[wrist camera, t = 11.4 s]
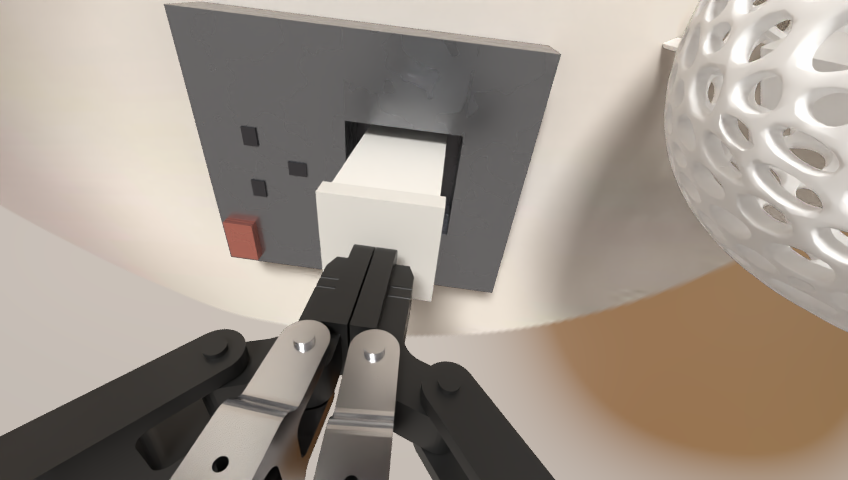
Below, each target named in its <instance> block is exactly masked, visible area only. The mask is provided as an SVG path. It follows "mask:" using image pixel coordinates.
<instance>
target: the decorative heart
mask: <svg viewBox="0 0 848 480" xmlns="http://www.w3.org/2000/svg"><path fill="white" fill-rule="evenodd" d="M754 2H755V0H700V1H699V3H698V5H697V7H696V9H695V11H694V13H693V15H692V17H691V19H690V22H689V24H688V26H687V28H686V30H685V32H684V34H683V36H682V38H677V37H676V38H674V39H672V40H669V41H667V42H665V43H663V48H666V49H669V50H672V51H675V52H676V55H675V59H674V62H673V66H672V70H671V73H670V76H669V80H668V85H667V93H666V102H665V110H664V128H665V137H666V147H667V152H668V157H669V160H670V164H671V167H672V171H673V174H674V176H675V179H676V181H677V184H678V186H679V189H680V191H681V193H682V195H683V196H684V198H685V200H686V202H687V204H688V206H689V207H690V209H691V211H692V212H693V213H694V215H695V216H696V218H697V219H698V220H699V222H700V223H701V224H702V225H703V227H704V228H705V229H706V231H707V232H708V233H709V234H710V236H711V237H712V238H713V239H714V240H715V241H716V242H717V243H718V245H719V246H720V247H721V248H722V249H723V250H724V251H725V252H726V253H727V254H728V255H730V256H731V257H732V258H733V259H734V260H735V261H736V262H737V263H738V264H740V265H741V266H742V267H743V268H744V269H746V270H747V271H748V272H749V273H751V274H752V275H753V276H755V277H756V278H757V279H758V280H760V281H761V282H762V283H764V284H765V285H766V286H768V287H769V288H771V289H772V290H774V291H775V292H777V293H778V294H780V295H781V296H783V297H785V298H786V299H788V300H790V301H791V302H793V303H795V304H796V305H798V306H800V307H802V308H804V309H805V310H807V311H809V312H811V313H812V314H814V315H816V316H818V317H819V318H821V319H823V320H825V321H826V322H828V323H830V324H832V325H834V326H836V327H838V328H840V329H842V330H844V331H846V332H848V237H847V236H845V235H844V234H843V233H842V232H840V230H841V231H844V232H848V0H767V1H765V2H764V3H762V4H760V5H757V6H754V5H753V3H754ZM786 20H790V23H789V25H788V27H787V28H786V30H784V31H781V30H780V29H778V28H777V26H776V25H777V24H779V23H781V22H783V21H786ZM729 31H730V32H729ZM728 32H729V34H728V36H727V37H726V39H725V40H724V41H722V40H723V38H724V37H725V35H726V34H727V33H728ZM760 43H763V44H765V45H764V46H762V47H760V59H758V60H756V61H752V62H749V58H750V55H751V53H752V52H753V50H754V49H755V48H756V46H758V45H759V44H760ZM711 82H712V83H713V85H714V96H713V99H712V101H711V103H710V101H709V99H708V90H709V86H710V84H711ZM759 82H761V106H760V105H758V104H757V103H756V101H755V96H754V95H755V90H756V87H757V85H758V84H759ZM738 119H739V120H740V121H741V122H742V123H743V124H744V125H745V126H746V127H747V128H748V129H749V138H748V140H747V139H746V138H745V137H744V135H743V134H742V133H741V131H740V129H739V127H738ZM788 128H790V135H787V136H783V132H784V131H785V130H786V129H788ZM791 148H798V149H809V150H813V151H815V152H817V153H819V154H821V155H822V156H823V157H824V159H825V167H824V168H823V169H822V170H821V169H818V168H815V167H813V166H811V165H809V164H807V163H806V162H804V161H802V160H801V159H800V158H798V157H797V156H796V155H795V154H794V153H793V152H792V151H791V150H790V149H791ZM730 161H731V162H733V163H734V164H735V165H737V167H738V169H739V170H738V169H737V168H735V167H734V166H733V165H732V163H731V162H730ZM770 169H771V170H772V171H774V172H775V173H776V175H777V176H778V178H779V180H780V184H779V182H778V181H777V179H776V178H775V177H774V175H773V174H772V172H771V170H770ZM713 175H714V176H715V177H716V179H717V180H718V181H719V182H720V183H721V184H722V186H723V187H722V186H721V185H720V184H719V183H718V182H717V180H716V179H715V178H714V176H713ZM797 189H810V190H812V191H813V192H814V193H816V195H817V196H818V197H819V199H820V200H821V203H822V208H820V207H816V206H813V205H810V204H808V203H805V202H804V201H802V200H800V199H799V198H797V197H796V190H797ZM765 205H772V206H773V207H774V208H776V209H777V210H779V211H780V212H781V213H782V214H783V215H784V217H785V219H786V223H784V222H782V221H779V220H776V219H774V218H773V217H772V216H771V215H770V214H768V213H767V212H766V211H765V210H764V209H763V206H765ZM790 246H791V247H794V248H797V249H800V250H803V251H804V252H805V253H807V254H808V255H809V257H810V259H811V260H808V259H807V258H805V257H803V256H801V255H800V254H798V253H797V252H796V251H794V250H793V249H792V248H790Z"/></svg>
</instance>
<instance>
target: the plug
mask: <svg viewBox="0 0 848 480" xmlns="http://www.w3.org/2000/svg"><path fill="white" fill-rule="evenodd" d="M446 142H447V134H443V133H435V132H428V131H420V130H412V129H405V128H397V127H389V126H382V125H374V124H371V125H370V126H369V128H368V129H367V131H366V132H365V134H364V135H363V137H362V138H361V140H360V141H359V143H358V144H357V146H356V147H355V149H354V150H353V151H352V153H351V154H350V156H349V157H348V159H347V160H346V162H345V163H344V165H343V166H342V168H341V169H340V171H339V172H338V174H337V175H336V177H335V178H334V180H333V181H332V182H326V181H323V182H322V183H321V184H320V186H319V187H318V189H317V190H316V191H315V193H316V204H317V215H318V226H319V237H320V248H321V259H322V270H323V271H324V269H325V267H326V265H327V264H328V263H330V262H331V261H332V260H333V259H335V258H336V257H337V256H338V257H345V258H348V257H349V254H350V252H351V250H352V247H353V245H354V244H358V245H365V246H372V247H380V248H388V249H395V250H397V251H398V254H397V265H404V266H410V268H411V271H412V273H413V276H414V282H413V291H412V299H415V300H423V301H430V302H431V300H432V293H433V286H434V279H435V273H436V266H437V259H438V252H439V246H440V239H441V232H442V225H443V219H444V212H445V203H446V197H444V196H440V194H441V185H442V177H443V168H444V159H445V150H446Z"/></svg>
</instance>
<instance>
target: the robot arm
mask: <svg viewBox="0 0 848 480" xmlns="http://www.w3.org/2000/svg"><path fill="white" fill-rule="evenodd" d="M397 254H398V251H397V250H395V249H388V248H380V247H372V246H365V245H358V244H354V245H353V247H352V250H351V252H350V254H349V257H348V258H345V257H338V256H337V257H336V258H335V259H333V260H332V261H331V262H330V263H328V264H327V265H326V267H325V269H324V271H323V273H322V275H321V278H320V279H319V281H318V283H317V286H316V287H315V289H314V291H313V293H312V295H311V297H310V299H309V301H308V303H307V305H306V307H305V309H304V311H303V313H302V315H301V317H300V319H299V321H298V322H295V323H293V324H291V325H289V326H288V327H286V328H285V329H284V330H283V331H282V332H281V334H280V335H279V336H278V337H275V338H271V339H265V340H257V341H249V342H245V339H244V337H243V336H242V335H241V334H240V333H238V332H237V331H234V330H229V329H224V330H223V329H222V330H216V331H213V332H210V333H207V334H205V335H203V336H201V337H199V338H197V339H195V340H193V341H191V342H189V343H187V344H185V345H183V346H181V347H179V348H177V349H175V350H173V351H171V352H169V353H167V354H165V355H163V356H161V357H159V358H157V359H155V360H153V361H151V362H149V363H147V364H145V365H143V366H141V367H139V368H137V369H135V370H133V371H131V372H129V373H127V374H125V375H123V376H121V377H119V378H117V379H115V380H113V381H111V382H109V383H107V384H105V385H103V386H101V387H99V388H96V389H95V390H92V391H90V392H88V393H87V394H85V395H83V396H80V397H78V398H77V399H74V400H72V401H70V402H68V403H66V404H64V405H62V406H61V407H58V408H56V409H55V410H52V411H50V412H48V413H46V414H44V415H42V416H40V417H38V418H36V419H34V420H32V421H30V422H28V423H26V424H24V425H22V426H20V427H18V428H16V429H14V430H12V431H10V432H8V433H6V434H4V435H2V436H0V480H305V476H306V469H307V465H308V462H309V459H310V457H311V454H312V452H313V449H314V447H315V444H316V442H317V439H318V437H319V435H320V432H321V430H322V427H323V425H324V422H325V420H326V417H327V414H328V412H329V410H330V407H331V405H332V402H333V399H334V394H335V393H334V390H335V387H336V384H337V382H338V378H339V375H342V380H341V384H340V389H339V394H338V398H337V402H336V406H335V411H334V413H333V416H332V417H330V418H329V420H328V423H327V426H326V430H325V434H324V438H323V442H322V446H321V451H320V454H319V459H318V463H317V467H316V472H315V475H314V480H389V471H390V458H391V447H392V436H393V432H395V433H396V434H398V435H400V436H402V437H403V438H405V439H407V440H409V441H411V442H413V444H414V447H415V449H416V452H417V453H418V455H419V457H420V459H421V460H422V462H423V464H424V466H425V467H426V469H427V471H428V472H429V474H430V476H431V478H432V479H433V480H555V479H554V478H553V477H552V475H551V474H550V473H549V471H548V470H547V469H546V468H545V467H544V465H543V464H542V463H541V461H540V460H539V459H538V458H537V457H536V455H535V454H534V453H533V451H532V450H531V449H530V448H529V446H528V445H527V444H526V443H525V442H524V440H523V439H522V438H521V436H520V435H519V434H518V433H517V432H516V430H515V429H514V428H513V427H512V425H511V424H510V423H509V422H508V420H507V419H506V418H505V417H504V415H503V414H502V413H501V412H500V411H499V409H498V408H497V407H496V405H495V404H494V403H493V402H492V400H491V399H490V398H489V397H488V395H487V394H486V393H485V392H484V390H483V389H482V388H481V387H480V385H479V384H478V383H477V382H476V380H475V379H474V378H473V377H472V376H471V374H470V373H469V372H468V371H467V370H466V369H465V368H464V367H462V366H460V365H458V364H456V363H453V362H439V363H436V364H433V365H432V366H430V365H428V364H426V363H424V362H422V361H420V360H418V359H416V358H415V357H414V356H412V355H411V354H410V353H409V351H408V350H407V348H406V346H405V338H406V332H407V326H408V320H409V315H410V309H411V300H412V291H413V282H414V276H413V273H412V271H411V268H410V266H404V265H397Z"/></svg>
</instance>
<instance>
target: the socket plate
mask: <svg viewBox="0 0 848 480" xmlns="http://www.w3.org/2000/svg"><path fill="white" fill-rule="evenodd" d="M164 6H165V10H166V14H167V17H168V21H169V25H170V29H171V32H172V36H173V40H174V44H175V47H176V51H177V55H178V59H179V62H180V66H181V70H182V74H183V77H184V81H185V85H186V89H187V93H188V96H189V100H190V104H191V108H192V111H193V115H194V119H195V123H196V126H197V130H198V134H199V138H200V141H201V145H202V149H203V153H204V156H205V160H206V164H207V168H208V171H209V175H210V179H211V183H212V186H213V190H214V194H215V198H216V201H217V205H218V209H219V213H220V216H221V220H222V224H223V228H224V231H225V235H226V239H227V243H228V246H229V250H230V254H231V257H236V258H243V259H251V260H258V261H265V262H272V263H280V264H287V265H294V266H302V267H309V268H316V269H322V259H321V248H320V237H319V226H318V215H317V204H316V193H315V191H316V190H317V189H318V187H319V186H320V184H321V183H322V182H323V181H326V182H332V181H333V180H334V178H335V177H336V175H337V174H338V172H339V171H340V169H341V168H342V166H343V165H344V163H345V162H346V160H347V159H348V157H349V156H350V154H351V153H352V151H353V150H354V149H355V147H356V146H357V144H358V143H359V141H360V140H361V138H362V137H363V135H364V134H365V132H366V131H367V129H368V128H369V126H370V125H371V124H374V125H382V126H389V127H397V128H405V129H412V130H420V131H428V132H435V133H443V134H447V142H446V150H445V159H444V168H443V177H442V185H441V194H440V196H444V197H446V203H445V212H444V219H443V225H442V232H441V239H440V246H439V252H438V259H437V266H436V273H435V279H434V285H440V286H447V287H454V288H462V289H469V290H476V291H483V292H491V293H492V291H493V288H494V284H495V281H496V277H497V274H498V270H499V267H500V263H501V260H502V257H503V253H504V250H505V246H506V243H507V239H508V236H509V232H510V229H511V225H512V222H513V218H514V215H515V212H516V208H517V205H518V201H519V198H520V194H521V191H522V187H523V184H524V180H525V177H526V174H527V170H528V167H529V163H530V160H531V156H532V153H533V149H534V146H535V142H536V139H537V135H538V132H539V129H540V125H541V122H542V118H543V115H544V111H545V108H546V104H547V101H548V97H549V94H550V90H551V87H552V84H553V80H554V77H555V73H556V70H557V66H558V63H559V59H560V56H561V54H560V53H558V52H557V51H556V50H554V49H553V48H551V47H550V46H548V45H540V44H532V43H524V42H516V41H508V40H500V39H492V38H484V37H476V36H469V35H461V34H453V33H445V32H437V31H429V30H421V29H413V28H405V27H397V26H389V25H381V24H374V23H366V22H358V21H350V20H342V19H334V18H326V17H318V16H310V15H302V14H294V13H287V12H279V11H271V10H263V9H255V8H247V7H239V6H231V5H223V4H215V3H207V2H188V3H173V4H164Z"/></svg>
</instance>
